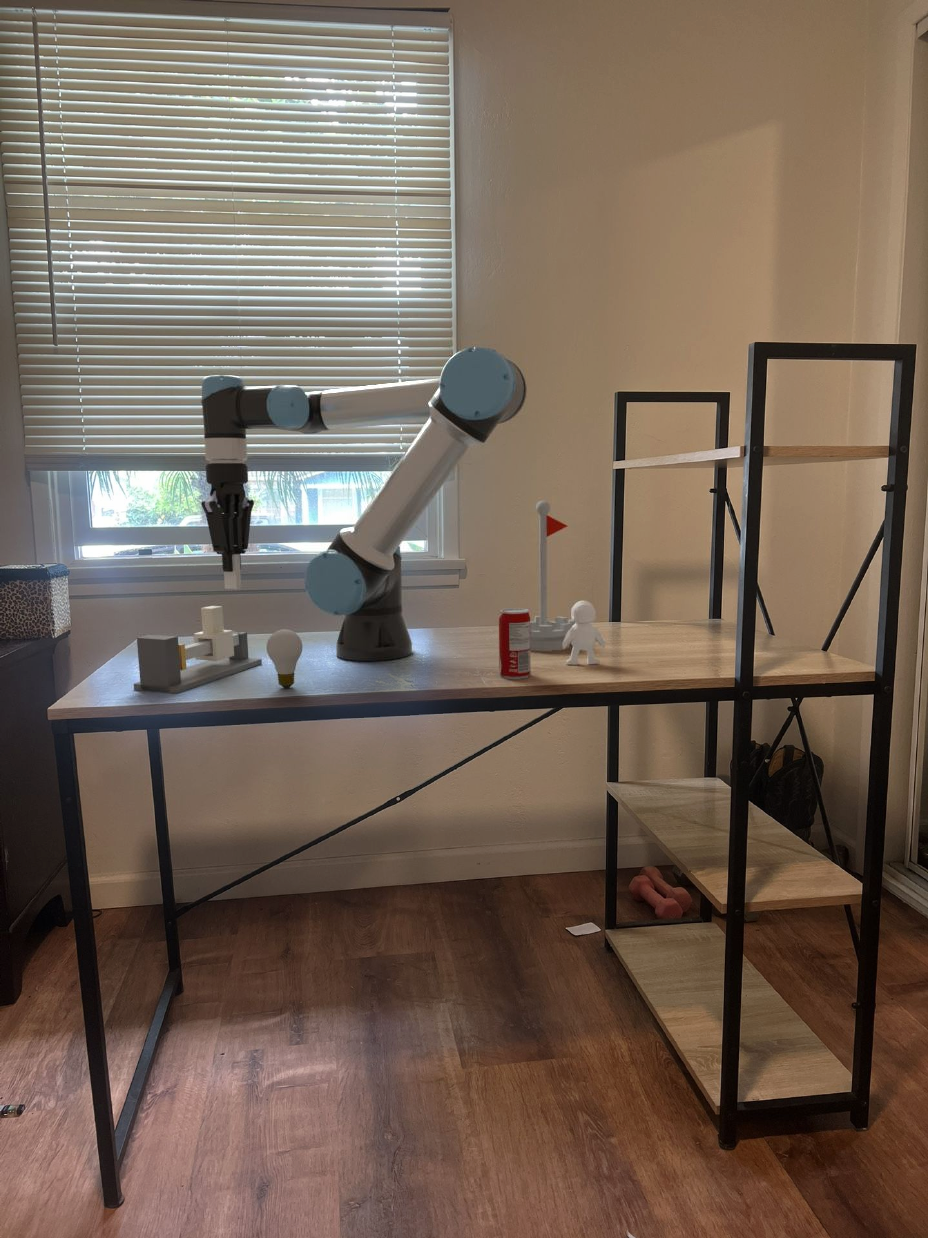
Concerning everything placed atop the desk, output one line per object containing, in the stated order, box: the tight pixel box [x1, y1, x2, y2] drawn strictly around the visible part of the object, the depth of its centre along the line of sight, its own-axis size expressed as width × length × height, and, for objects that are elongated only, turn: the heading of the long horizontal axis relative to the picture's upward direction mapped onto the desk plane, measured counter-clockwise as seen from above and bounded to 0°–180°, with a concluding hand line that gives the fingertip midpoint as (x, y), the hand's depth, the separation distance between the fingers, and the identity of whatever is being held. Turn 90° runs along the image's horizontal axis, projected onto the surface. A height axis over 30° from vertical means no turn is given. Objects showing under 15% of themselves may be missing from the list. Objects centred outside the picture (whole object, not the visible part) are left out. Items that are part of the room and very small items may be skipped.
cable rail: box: [133, 631, 263, 694], centre depth 151 cm, size 9×24×9 cm, turn 158°
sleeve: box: [193, 605, 234, 661], centre depth 154 cm, size 5×5×9 cm
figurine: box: [562, 600, 606, 666], centre depth 155 cm, size 8×5×12 cm, turn 93°
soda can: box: [498, 607, 531, 680], centre depth 146 cm, size 6×6×12 cm
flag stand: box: [530, 500, 576, 652], centre depth 172 cm, size 13×13×30 cm
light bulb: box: [266, 628, 303, 689], centre depth 141 cm, size 6×6×10 cm
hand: (233, 588), depth 159 cm, fingers closed
